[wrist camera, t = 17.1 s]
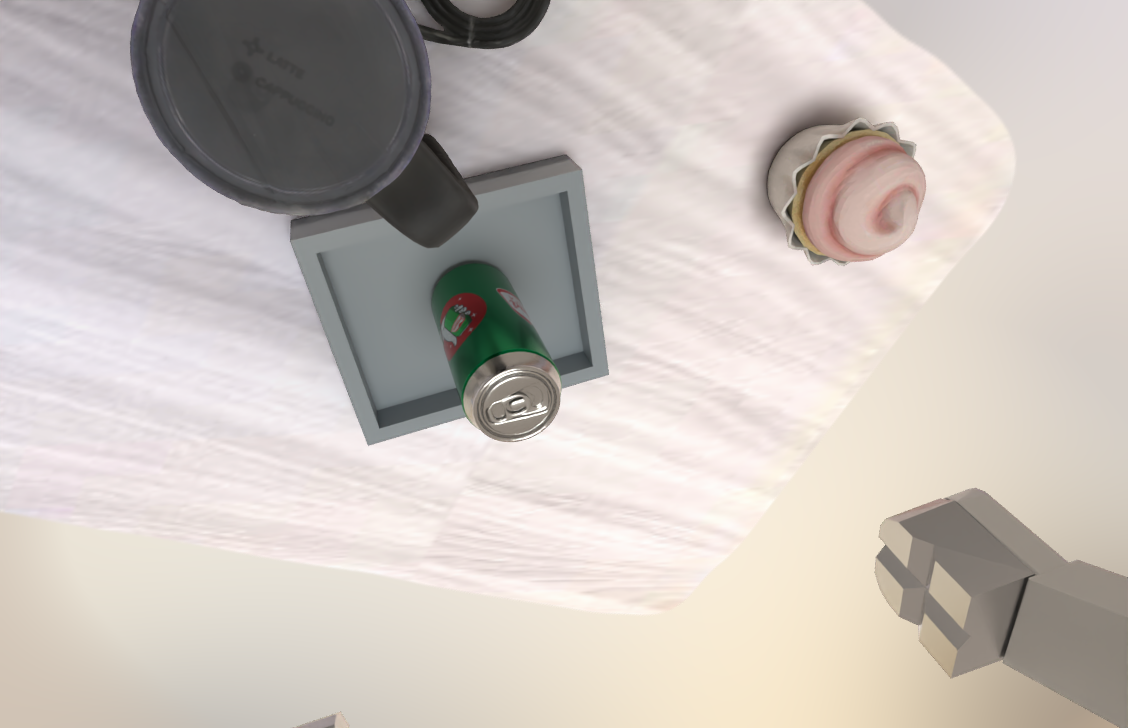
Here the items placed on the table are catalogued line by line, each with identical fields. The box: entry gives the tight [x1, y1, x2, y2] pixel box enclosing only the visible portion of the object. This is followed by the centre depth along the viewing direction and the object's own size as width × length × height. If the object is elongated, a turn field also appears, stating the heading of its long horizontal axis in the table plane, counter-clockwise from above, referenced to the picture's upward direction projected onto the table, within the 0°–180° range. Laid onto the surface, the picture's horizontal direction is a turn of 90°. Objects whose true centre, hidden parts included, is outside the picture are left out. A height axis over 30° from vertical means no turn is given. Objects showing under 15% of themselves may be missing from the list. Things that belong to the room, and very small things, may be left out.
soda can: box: [431, 263, 562, 442], centre depth 40 cm, size 5×5×12 cm
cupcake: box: [767, 117, 926, 266], centre depth 45 cm, size 9×9×10 cm
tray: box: [290, 155, 609, 446], centre depth 45 cm, size 16×14×3 cm
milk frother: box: [130, 0, 550, 248], centre depth 30 cm, size 14×16×15 cm
